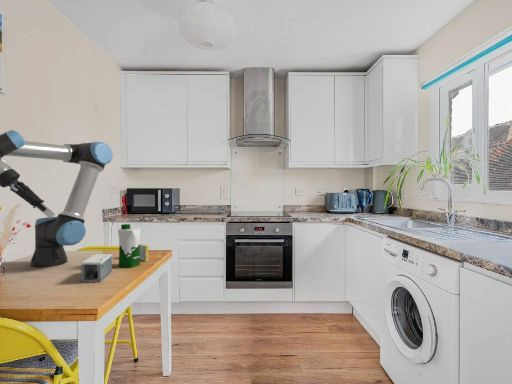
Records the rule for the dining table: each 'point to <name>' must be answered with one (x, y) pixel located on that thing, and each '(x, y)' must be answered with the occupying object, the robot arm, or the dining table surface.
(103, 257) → the cover
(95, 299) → the dining table surface
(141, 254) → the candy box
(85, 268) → the stand
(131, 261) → the milk carton
